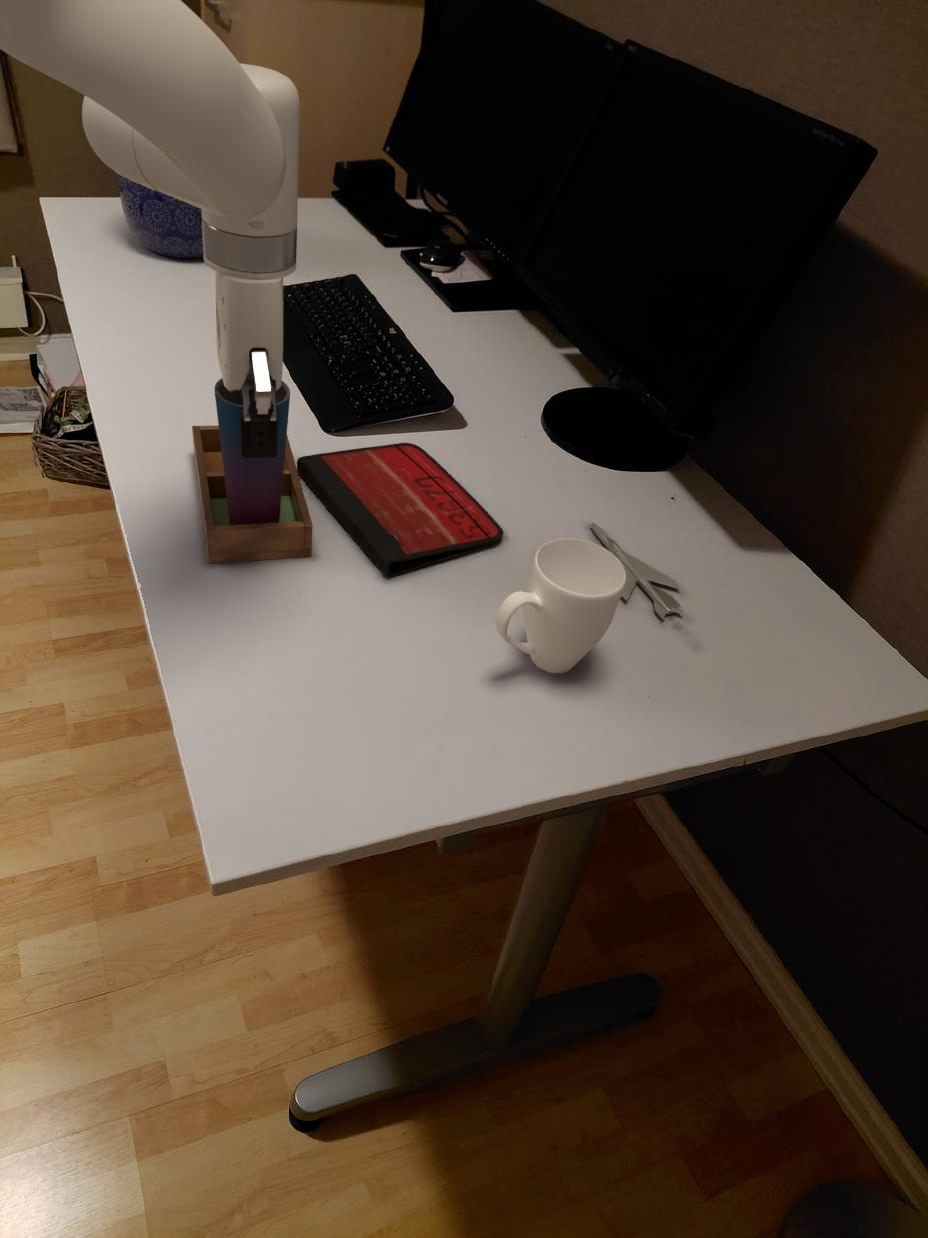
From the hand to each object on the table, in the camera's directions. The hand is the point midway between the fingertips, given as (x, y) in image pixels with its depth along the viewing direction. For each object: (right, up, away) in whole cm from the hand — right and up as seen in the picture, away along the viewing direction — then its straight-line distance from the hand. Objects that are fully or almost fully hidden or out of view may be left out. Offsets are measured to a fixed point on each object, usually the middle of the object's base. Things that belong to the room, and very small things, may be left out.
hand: (252, 428), depth 81 cm
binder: (+13, -6, +15) cm, 21 cm away
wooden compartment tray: (-3, -6, +11) cm, 13 cm away
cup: (-2, -8, +7) cm, 11 cm away
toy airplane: (+39, -14, +12) cm, 44 cm away
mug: (+27, -23, 0) cm, 35 cm away
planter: (-27, +44, +62) cm, 81 cm away
